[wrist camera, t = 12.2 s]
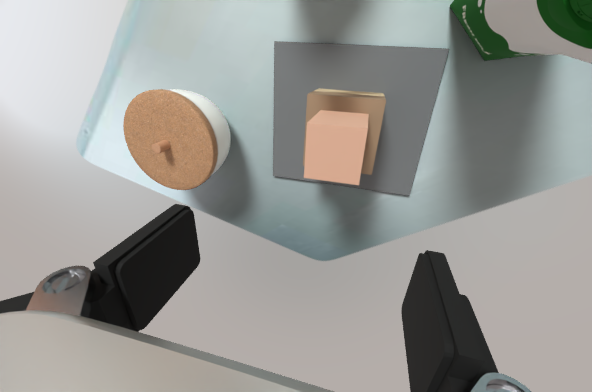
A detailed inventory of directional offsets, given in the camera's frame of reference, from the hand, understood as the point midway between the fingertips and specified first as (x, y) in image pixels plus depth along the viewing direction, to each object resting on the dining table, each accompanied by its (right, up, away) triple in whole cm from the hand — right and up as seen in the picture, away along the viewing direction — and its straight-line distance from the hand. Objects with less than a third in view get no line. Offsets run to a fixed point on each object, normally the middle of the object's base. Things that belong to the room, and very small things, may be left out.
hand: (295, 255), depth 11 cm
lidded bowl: (-14, +13, +30) cm, 36 cm away
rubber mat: (+7, +12, +25) cm, 28 cm away
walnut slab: (+6, +10, +21) cm, 24 cm away
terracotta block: (+5, +9, +18) cm, 21 cm away
